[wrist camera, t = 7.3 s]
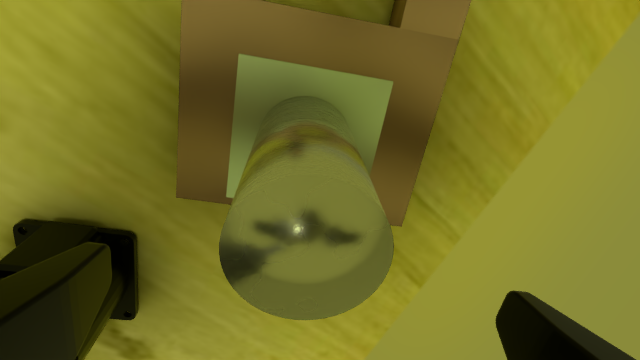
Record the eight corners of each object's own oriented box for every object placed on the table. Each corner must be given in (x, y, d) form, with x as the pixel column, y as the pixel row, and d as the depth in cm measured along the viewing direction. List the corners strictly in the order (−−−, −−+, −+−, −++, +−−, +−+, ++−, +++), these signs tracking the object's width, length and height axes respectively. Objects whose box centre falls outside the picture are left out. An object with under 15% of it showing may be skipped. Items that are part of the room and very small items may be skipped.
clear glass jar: (340, 190, 19) (370, 327, 11) (252, 177, 18) (213, 311, 10) (360, 105, 17) (415, 189, 9) (263, 87, 17) (226, 161, 8)
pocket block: (392, 207, 22) (402, 228, 20) (187, 180, 21) (174, 199, 19) (502, -174, 15) (536, -206, 13) (205, -257, 14) (188, -309, 12)
